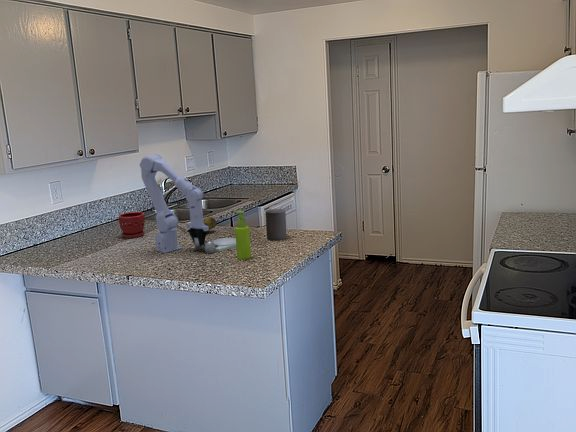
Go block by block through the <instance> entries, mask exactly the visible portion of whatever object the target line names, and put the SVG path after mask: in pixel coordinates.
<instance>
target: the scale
mask: <svg viewBox="0 0 576 432" xmlns="http://www.w3.org/2000/svg"><path fill="white" fill-rule="evenodd" d="M212 241H214V249H215V252H219V253H220V252H223V251H227V250H230V249H234V248H237V247H236V237H223V238H218V239H217V238H216V239H213V240H212ZM203 249H205V243H204V248H203Z"/></svg>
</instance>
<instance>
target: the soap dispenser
mask: <svg viewBox="0 0 576 432" xmlns="http://www.w3.org/2000/svg"><path fill="white" fill-rule="evenodd" d="M232 213H233V214H238V218H237V219H236V221H237V226H235V227H234V233H235V238H236V247H235V248H236V254H237V256H236V258H237V259H238V260H248V259H251V258H252V250H251V235H250V226H248V225H247V223H246V218H244V214H245V211H244V210H236V211H232Z"/></svg>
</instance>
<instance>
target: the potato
mask: <svg viewBox="0 0 576 432" xmlns="http://www.w3.org/2000/svg"><path fill="white" fill-rule="evenodd" d="M203 223H204V224H205V225H206V226H209V231H210V230H212V229H214V228H216V227H217V226H216V225H217V220H216V218H214V217H212V216H209V217H206V218H203Z"/></svg>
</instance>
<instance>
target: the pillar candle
mask: <svg viewBox="0 0 576 432" xmlns="http://www.w3.org/2000/svg"><path fill="white" fill-rule="evenodd" d="M264 213H265V226H266V229H265V230H266V239H267V241H273V242H274V241H283V240H286V239H287V238H288V234H287V219H286V217H287V216H286V215H287V214H286V209H284V208H270V209H266V210H265V211H264Z"/></svg>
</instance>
